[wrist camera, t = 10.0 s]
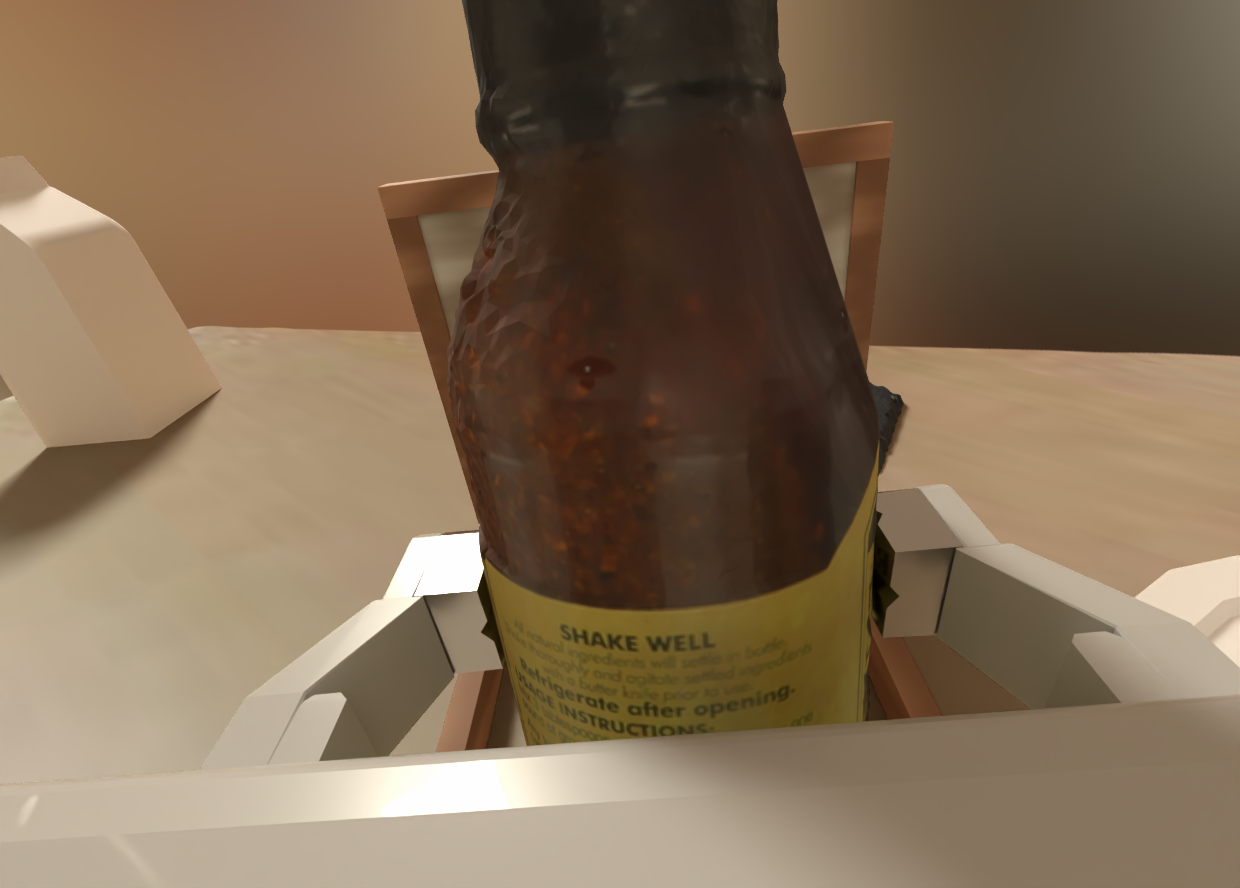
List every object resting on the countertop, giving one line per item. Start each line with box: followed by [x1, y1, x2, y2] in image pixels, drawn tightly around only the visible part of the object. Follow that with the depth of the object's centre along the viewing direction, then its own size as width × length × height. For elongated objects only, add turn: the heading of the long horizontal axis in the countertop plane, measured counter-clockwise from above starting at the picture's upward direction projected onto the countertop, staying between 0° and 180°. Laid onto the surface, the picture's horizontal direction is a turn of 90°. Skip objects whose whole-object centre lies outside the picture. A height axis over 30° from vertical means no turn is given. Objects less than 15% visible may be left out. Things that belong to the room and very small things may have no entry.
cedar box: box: [378, 121, 943, 753], centre depth 21 cm, size 20×18×22 cm
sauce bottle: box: [447, 0, 879, 746], centre depth 10 cm, size 7×6×20 cm
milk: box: [0, 155, 222, 448], centre depth 58 cm, size 12×12×26 cm
